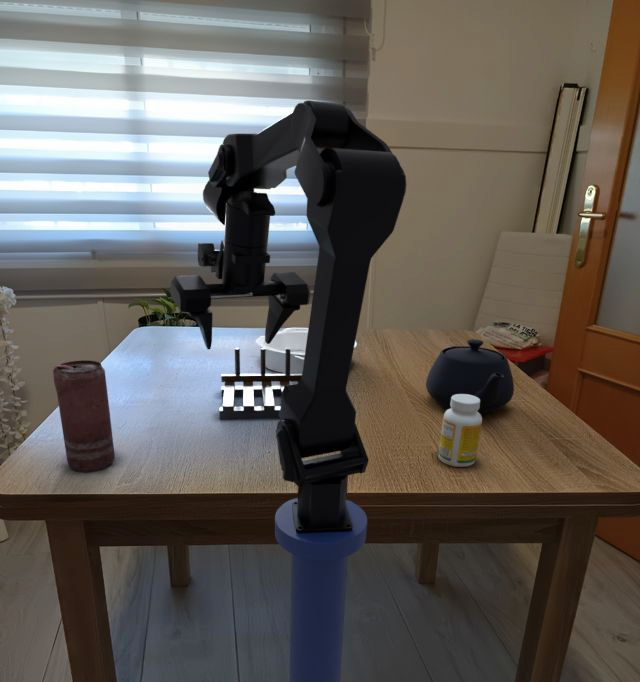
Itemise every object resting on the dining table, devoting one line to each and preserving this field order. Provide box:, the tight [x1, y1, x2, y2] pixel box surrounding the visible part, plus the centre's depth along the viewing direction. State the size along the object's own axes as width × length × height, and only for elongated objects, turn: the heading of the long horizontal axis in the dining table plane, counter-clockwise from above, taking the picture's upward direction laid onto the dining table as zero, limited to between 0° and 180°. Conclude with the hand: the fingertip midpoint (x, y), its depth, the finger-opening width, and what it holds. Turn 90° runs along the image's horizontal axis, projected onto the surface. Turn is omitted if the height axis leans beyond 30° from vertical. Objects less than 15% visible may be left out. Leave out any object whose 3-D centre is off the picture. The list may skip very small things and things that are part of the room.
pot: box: [255, 327, 358, 374], centre depth 128 cm, size 29×22×5 cm
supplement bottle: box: [438, 394, 483, 468], centre depth 82 cm, size 5×5×10 cm
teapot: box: [425, 338, 515, 415], centre depth 103 cm, size 25×16×12 cm, turn 5°
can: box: [52, 359, 116, 473], centre depth 77 cm, size 6×6×14 cm
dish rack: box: [218, 347, 302, 420], centre depth 101 cm, size 14×20×9 cm
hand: (238, 345), depth 85 cm, fingers open, 9 cm apart
